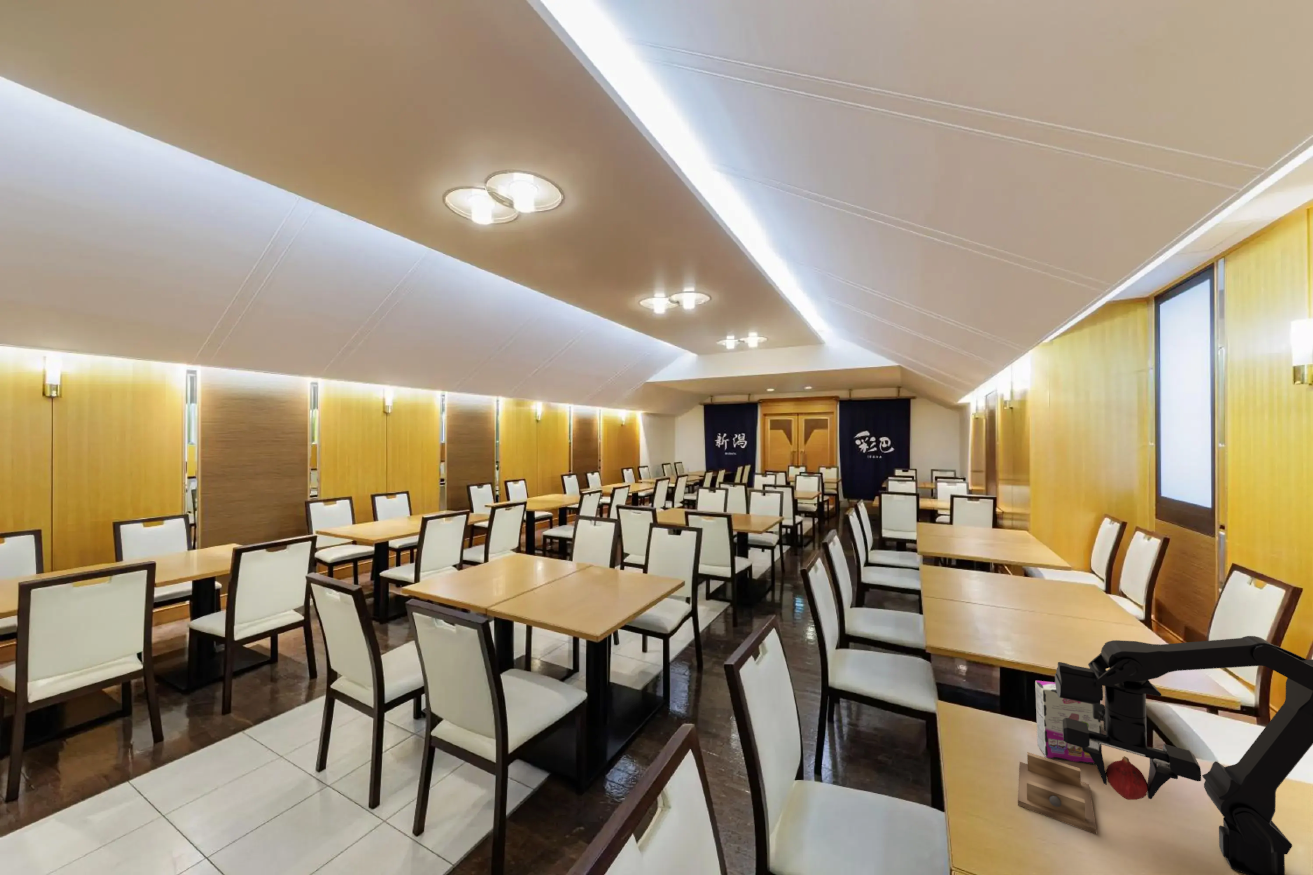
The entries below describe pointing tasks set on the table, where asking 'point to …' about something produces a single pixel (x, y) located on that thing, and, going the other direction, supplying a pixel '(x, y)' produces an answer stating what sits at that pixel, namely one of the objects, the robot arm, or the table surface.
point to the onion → (1127, 779)
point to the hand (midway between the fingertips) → (1126, 790)
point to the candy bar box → (1050, 723)
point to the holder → (1055, 792)
